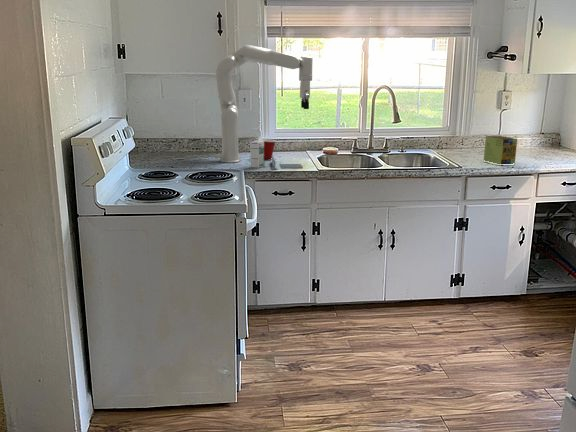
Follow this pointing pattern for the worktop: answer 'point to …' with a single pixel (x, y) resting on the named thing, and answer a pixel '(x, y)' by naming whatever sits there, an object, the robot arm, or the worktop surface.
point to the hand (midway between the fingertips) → (304, 108)
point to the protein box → (500, 149)
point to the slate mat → (291, 166)
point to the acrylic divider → (273, 163)
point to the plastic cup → (268, 147)
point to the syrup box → (257, 153)
